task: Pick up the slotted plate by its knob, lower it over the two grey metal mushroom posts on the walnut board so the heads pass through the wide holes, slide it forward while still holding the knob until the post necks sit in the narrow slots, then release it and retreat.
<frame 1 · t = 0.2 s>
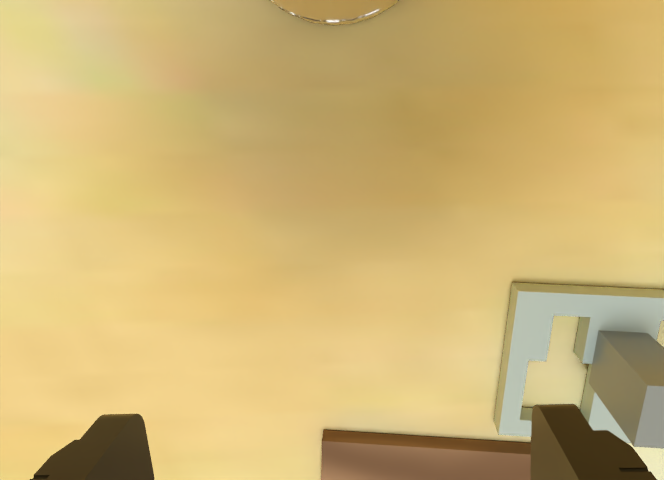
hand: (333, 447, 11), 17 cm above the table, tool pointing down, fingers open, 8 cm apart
slotted plate: (605, 360, 29), on the table
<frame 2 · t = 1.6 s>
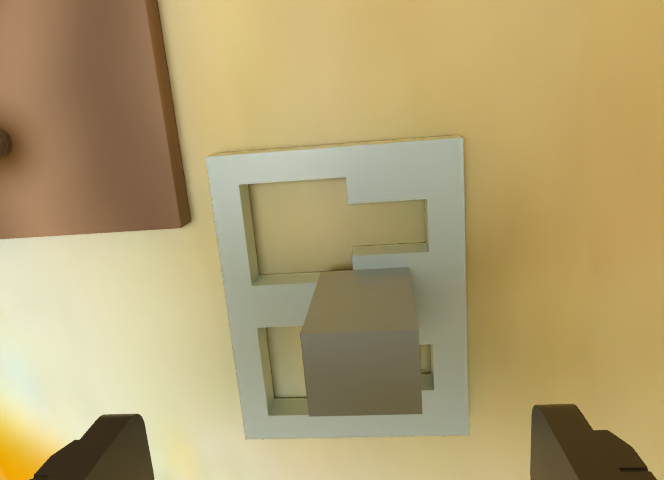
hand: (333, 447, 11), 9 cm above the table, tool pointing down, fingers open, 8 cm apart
slotted plate: (346, 290, 20), on the table
keyhole posts: (0, 65, 19), resting on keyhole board
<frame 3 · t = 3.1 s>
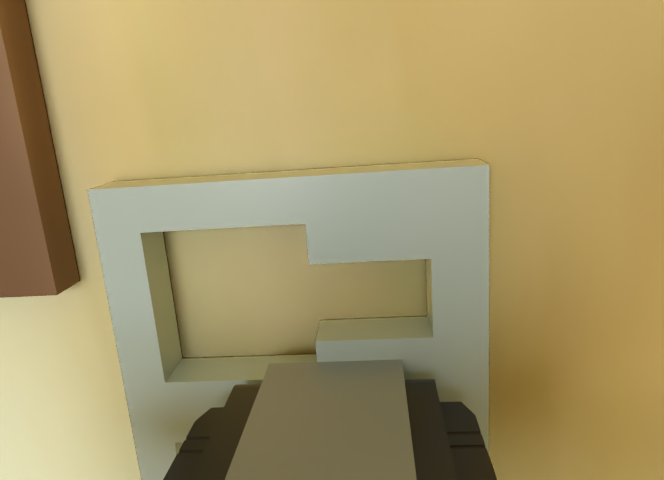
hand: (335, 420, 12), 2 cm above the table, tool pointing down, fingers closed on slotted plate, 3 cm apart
slotted plate: (309, 383, 14), on the table, touching gripper
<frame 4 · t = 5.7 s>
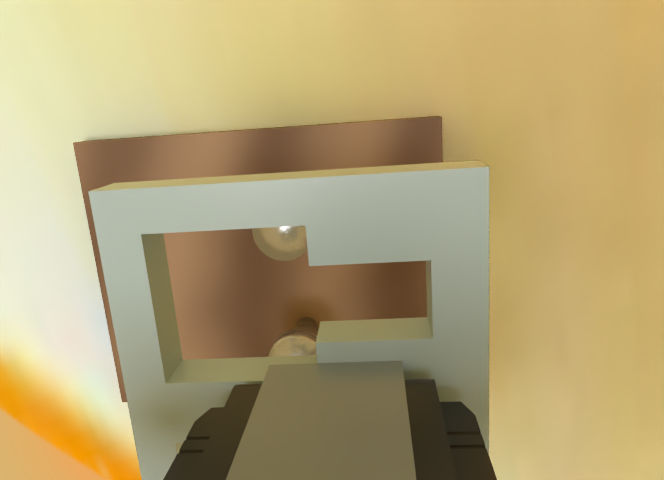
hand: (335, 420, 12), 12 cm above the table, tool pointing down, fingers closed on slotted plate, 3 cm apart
slotted plate: (309, 384, 14), point 10 cm above the table, touching gripper
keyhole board: (271, 265, 24), on the table
keyhole posts: (304, 264, 24), resting on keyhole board
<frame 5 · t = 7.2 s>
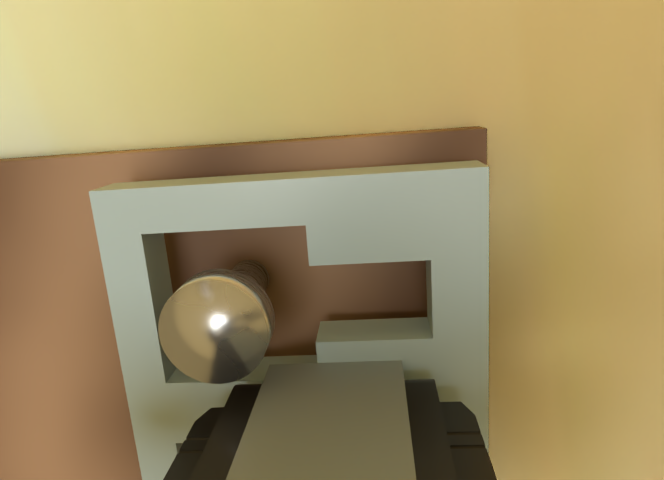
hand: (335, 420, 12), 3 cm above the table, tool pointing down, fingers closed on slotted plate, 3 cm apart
slotted plate: (309, 383, 14), point 2 cm above the table, touching gripper
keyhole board: (216, 354, 16), on the table
keyhole posts: (267, 352, 15), resting on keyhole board
when the fingers open (3 cm above the table, at t = 8.5 s): slotted plate stays where it is, resting on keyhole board.
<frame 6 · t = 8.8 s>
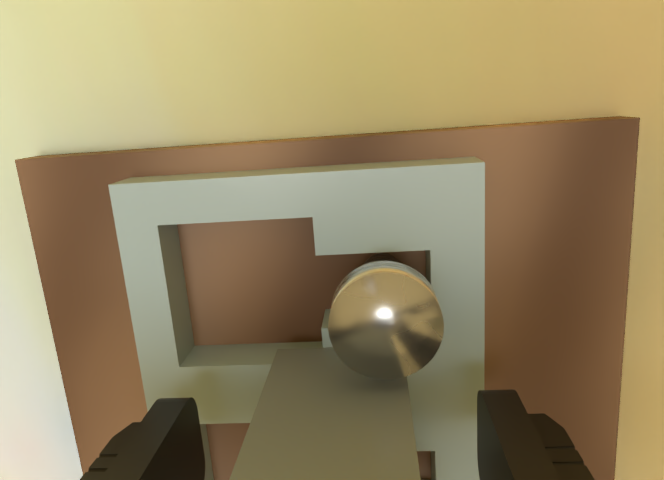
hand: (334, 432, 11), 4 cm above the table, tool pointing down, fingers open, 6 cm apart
slotted plate: (315, 369, 14), point 1 cm above the table, touching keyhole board
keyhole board: (332, 350, 15), on the table
keyhole posts: (385, 348, 15), resting on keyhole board
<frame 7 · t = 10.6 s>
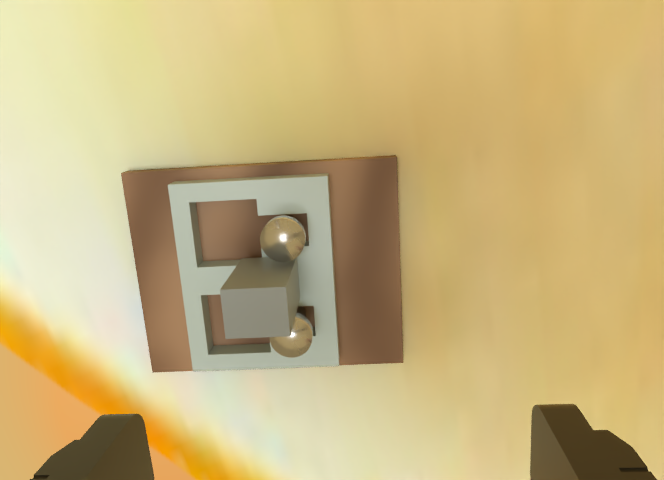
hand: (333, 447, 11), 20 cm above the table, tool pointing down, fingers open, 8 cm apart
slotted plate: (260, 272, 30), point 1 cm above the table, touching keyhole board
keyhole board: (269, 266, 31), on the table
keyhole posts: (295, 264, 31), resting on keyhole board
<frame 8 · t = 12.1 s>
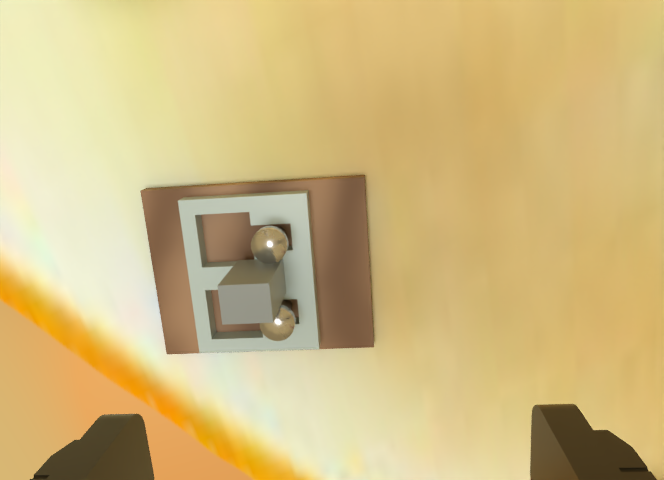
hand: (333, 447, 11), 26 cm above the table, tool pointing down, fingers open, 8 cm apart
slotted plate: (254, 271, 37), point 1 cm above the table, touching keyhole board
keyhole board: (262, 266, 38), on the table
keyhole posts: (283, 265, 38), resting on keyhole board
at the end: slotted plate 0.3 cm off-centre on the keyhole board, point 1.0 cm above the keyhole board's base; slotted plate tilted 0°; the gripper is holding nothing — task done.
